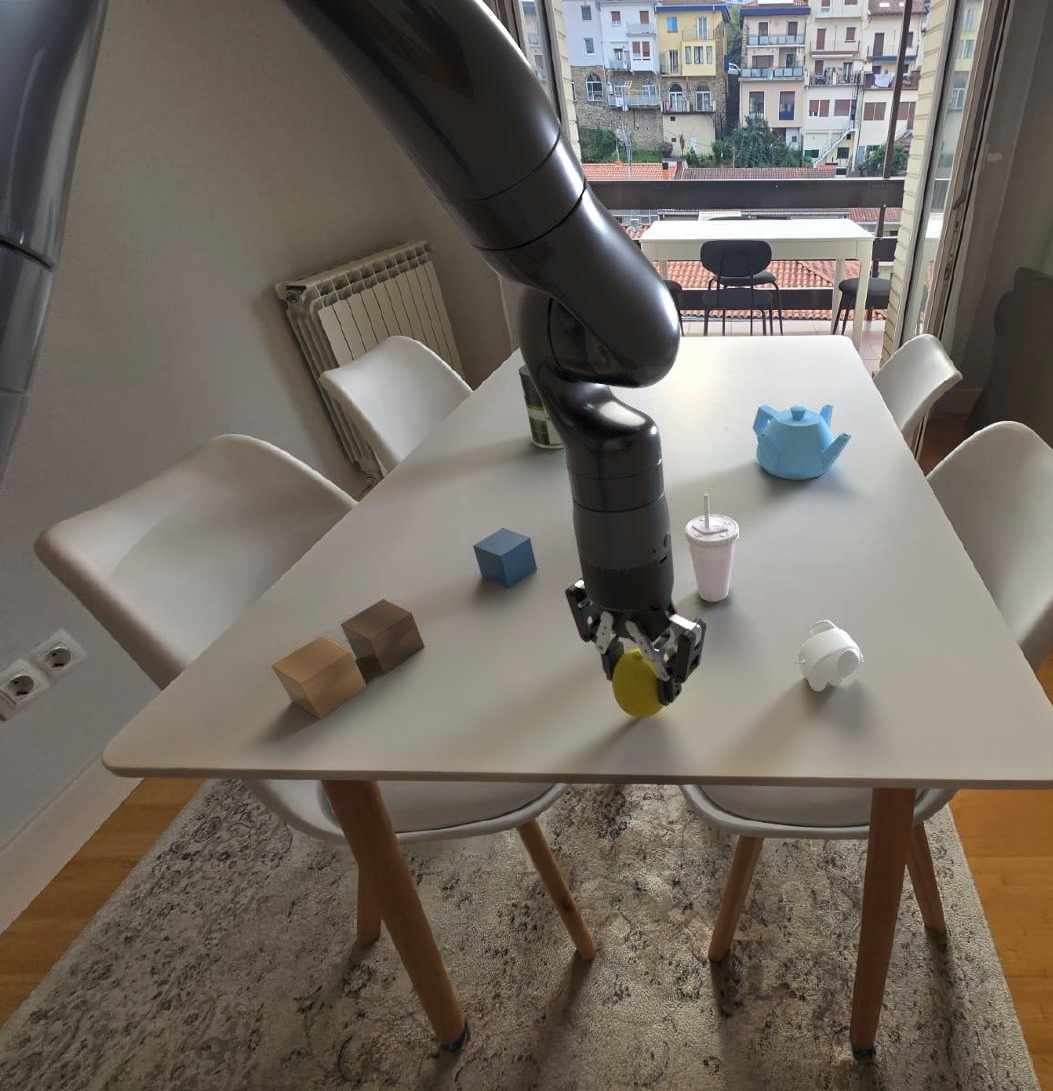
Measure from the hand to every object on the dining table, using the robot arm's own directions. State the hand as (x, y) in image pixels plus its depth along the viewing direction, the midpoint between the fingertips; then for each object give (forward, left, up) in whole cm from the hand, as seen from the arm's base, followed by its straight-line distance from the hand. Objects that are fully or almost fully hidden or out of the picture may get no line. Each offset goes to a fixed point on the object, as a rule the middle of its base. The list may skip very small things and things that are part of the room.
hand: (642, 686), depth 57 cm
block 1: (-14, +30, -3) cm, 33 cm away
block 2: (-7, +30, -3) cm, 31 cm away
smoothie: (+20, +4, -4) cm, 21 cm away
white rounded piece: (+13, -14, -4) cm, 19 cm away
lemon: (0, 0, -4) cm, 4 cm away
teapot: (+59, +10, -4) cm, 60 cm away
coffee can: (+48, +56, -4) cm, 74 cm away
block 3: (+10, +30, -3) cm, 32 cm away
